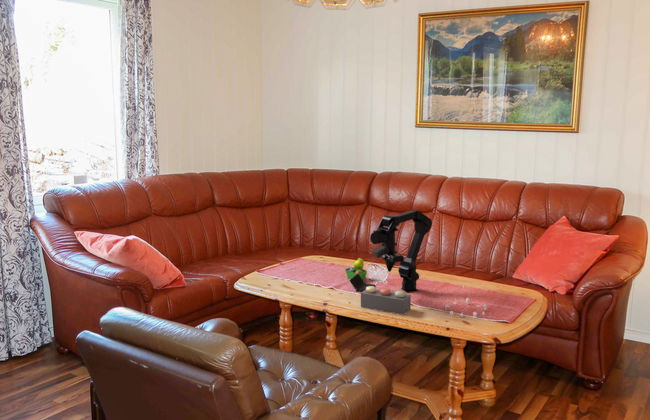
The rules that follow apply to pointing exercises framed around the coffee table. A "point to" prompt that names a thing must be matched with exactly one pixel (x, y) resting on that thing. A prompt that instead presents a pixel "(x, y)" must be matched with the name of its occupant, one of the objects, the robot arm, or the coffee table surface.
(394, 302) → the button panel
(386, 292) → the red button
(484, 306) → the game piece set
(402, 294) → the green button
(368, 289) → the cream button
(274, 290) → the coffee table surface
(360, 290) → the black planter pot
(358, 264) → the fruit basket
